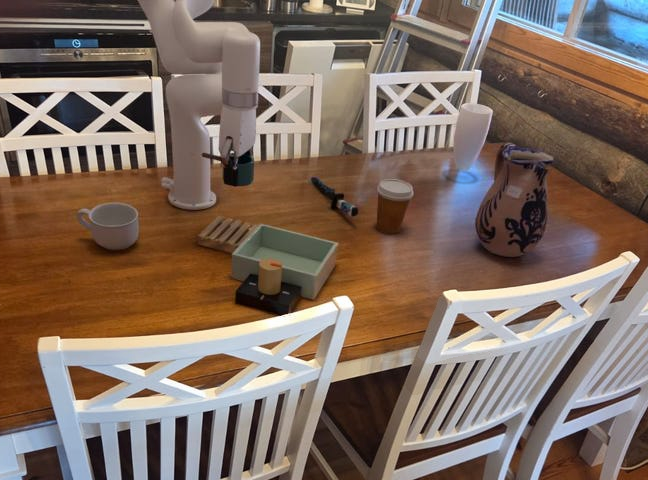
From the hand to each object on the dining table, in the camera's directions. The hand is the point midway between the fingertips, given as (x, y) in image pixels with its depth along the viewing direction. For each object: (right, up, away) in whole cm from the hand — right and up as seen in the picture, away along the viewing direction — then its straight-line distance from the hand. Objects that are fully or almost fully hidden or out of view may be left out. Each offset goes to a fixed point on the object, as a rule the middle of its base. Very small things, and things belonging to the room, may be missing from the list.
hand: (237, 178), depth 142 cm
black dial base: (+7, -28, -7) cm, 30 cm away
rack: (-4, -12, +11) cm, 17 cm away
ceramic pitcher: (+66, -11, +25) cm, 71 cm away
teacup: (-31, -14, +5) cm, 34 cm away
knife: (+22, +3, +35) cm, 41 cm away
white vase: (+64, +18, +61) cm, 90 cm away
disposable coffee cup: (+37, -6, +26) cm, 46 cm away
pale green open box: (+10, -21, +3) cm, 23 cm away
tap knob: (+8, -26, -9) cm, 28 cm away
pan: (-3, +1, +1) cm, 3 cm away
